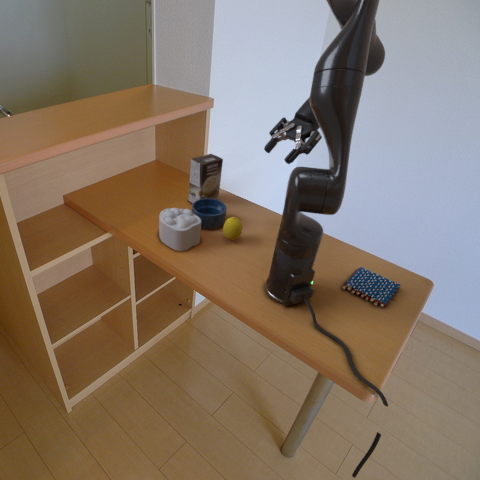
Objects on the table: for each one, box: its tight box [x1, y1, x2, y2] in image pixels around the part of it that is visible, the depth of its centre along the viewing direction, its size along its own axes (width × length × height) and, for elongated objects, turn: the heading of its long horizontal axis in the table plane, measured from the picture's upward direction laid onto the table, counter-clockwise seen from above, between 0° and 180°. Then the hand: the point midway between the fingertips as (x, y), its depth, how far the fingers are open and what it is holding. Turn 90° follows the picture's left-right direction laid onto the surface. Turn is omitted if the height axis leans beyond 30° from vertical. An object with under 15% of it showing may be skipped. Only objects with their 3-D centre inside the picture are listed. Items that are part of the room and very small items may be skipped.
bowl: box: [191, 198, 228, 230], centre depth 117 cm, size 11×11×6 cm
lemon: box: [222, 216, 243, 241], centre depth 108 cm, size 6×6×8 cm
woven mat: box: [342, 266, 402, 308], centre depth 91 cm, size 10×11×2 cm
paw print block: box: [158, 207, 202, 252], centre depth 109 cm, size 10×13×9 cm
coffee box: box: [188, 153, 224, 204], centre depth 125 cm, size 9×6×16 cm
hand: (276, 156), depth 100 cm, fingers open, 8 cm apart
